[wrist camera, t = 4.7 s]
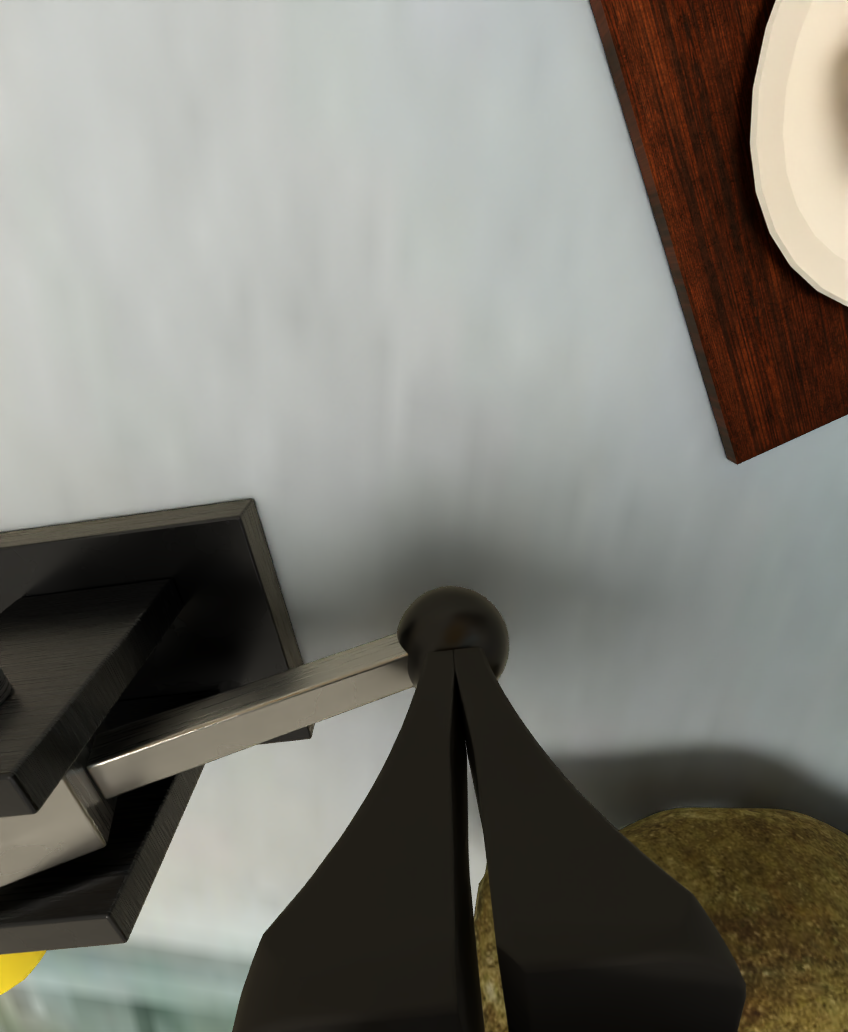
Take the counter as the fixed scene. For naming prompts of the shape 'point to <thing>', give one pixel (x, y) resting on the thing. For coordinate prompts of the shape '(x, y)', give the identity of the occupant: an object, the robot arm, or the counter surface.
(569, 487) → the counter surface
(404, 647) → the lever
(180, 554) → the bracket
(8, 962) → the light bulb
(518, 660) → the counter surface
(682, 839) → the stone tool
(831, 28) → the hamburger
